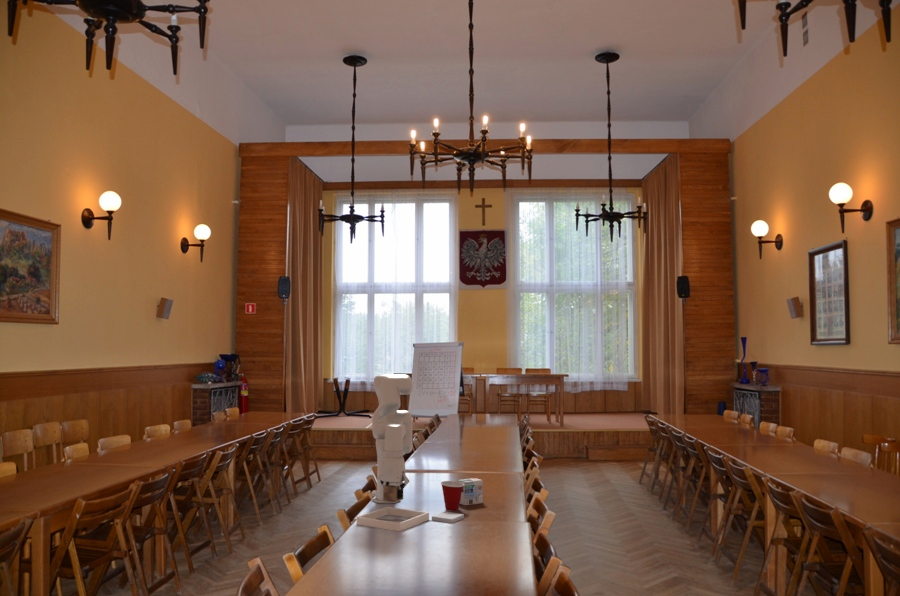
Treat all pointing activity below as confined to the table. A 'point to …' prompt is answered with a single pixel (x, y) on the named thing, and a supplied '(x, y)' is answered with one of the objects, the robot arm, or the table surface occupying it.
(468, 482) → the light bulb box
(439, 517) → the display stand
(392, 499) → the walnut block
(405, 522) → the beige square frame
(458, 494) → the plastic cup
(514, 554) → the table surface
